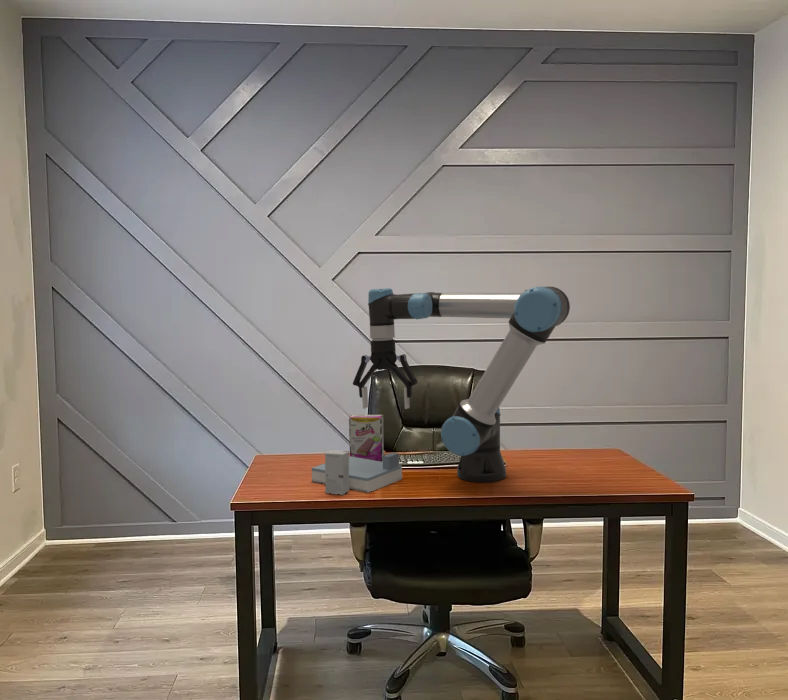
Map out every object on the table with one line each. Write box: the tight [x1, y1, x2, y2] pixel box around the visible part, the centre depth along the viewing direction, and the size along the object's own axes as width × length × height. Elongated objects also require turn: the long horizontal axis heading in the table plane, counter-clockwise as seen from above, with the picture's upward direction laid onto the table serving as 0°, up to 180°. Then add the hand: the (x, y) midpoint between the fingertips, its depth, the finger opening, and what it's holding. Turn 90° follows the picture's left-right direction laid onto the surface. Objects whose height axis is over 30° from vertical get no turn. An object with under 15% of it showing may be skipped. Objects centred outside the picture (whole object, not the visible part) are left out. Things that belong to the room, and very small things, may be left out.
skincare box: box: [324, 449, 350, 496], centre depth 202 cm, size 6×4×12 cm
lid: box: [311, 451, 403, 481], centre depth 214 cm, size 22×17×5 cm
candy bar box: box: [348, 414, 385, 462], centre depth 234 cm, size 11×5×16 cm, turn 84°
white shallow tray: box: [311, 467, 403, 494], centre depth 215 cm, size 22×17×4 cm
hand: (386, 408), depth 214 cm, fingers open, 13 cm apart
